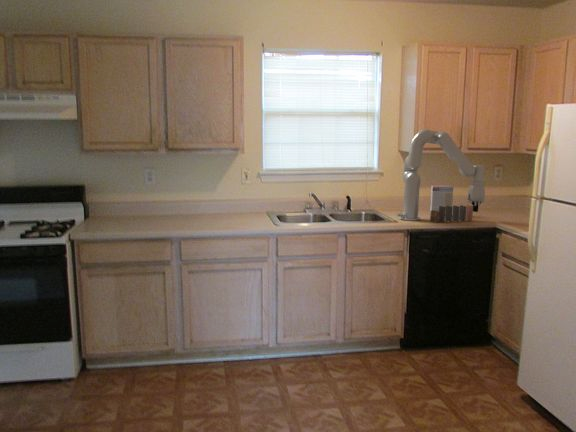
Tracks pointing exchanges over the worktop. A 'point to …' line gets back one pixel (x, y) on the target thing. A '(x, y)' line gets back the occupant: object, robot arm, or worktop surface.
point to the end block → (434, 216)
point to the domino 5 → (469, 212)
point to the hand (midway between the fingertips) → (475, 211)
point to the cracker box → (441, 197)
